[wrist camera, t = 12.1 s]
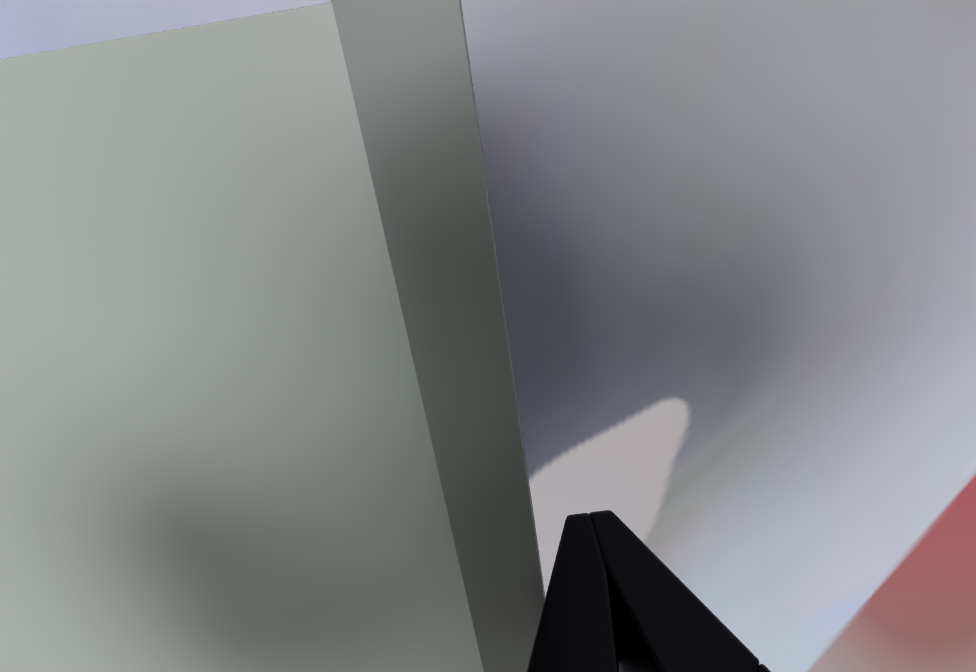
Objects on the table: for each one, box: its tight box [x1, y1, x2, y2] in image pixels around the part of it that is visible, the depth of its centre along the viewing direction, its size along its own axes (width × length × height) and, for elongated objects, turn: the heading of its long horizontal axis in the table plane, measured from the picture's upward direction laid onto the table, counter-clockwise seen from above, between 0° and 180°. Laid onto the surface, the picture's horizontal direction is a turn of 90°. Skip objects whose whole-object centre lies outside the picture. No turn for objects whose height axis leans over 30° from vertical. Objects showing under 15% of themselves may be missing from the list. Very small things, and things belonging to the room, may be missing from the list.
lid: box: [0, 0, 545, 672], centre depth 9 cm, size 13×17×2 cm
